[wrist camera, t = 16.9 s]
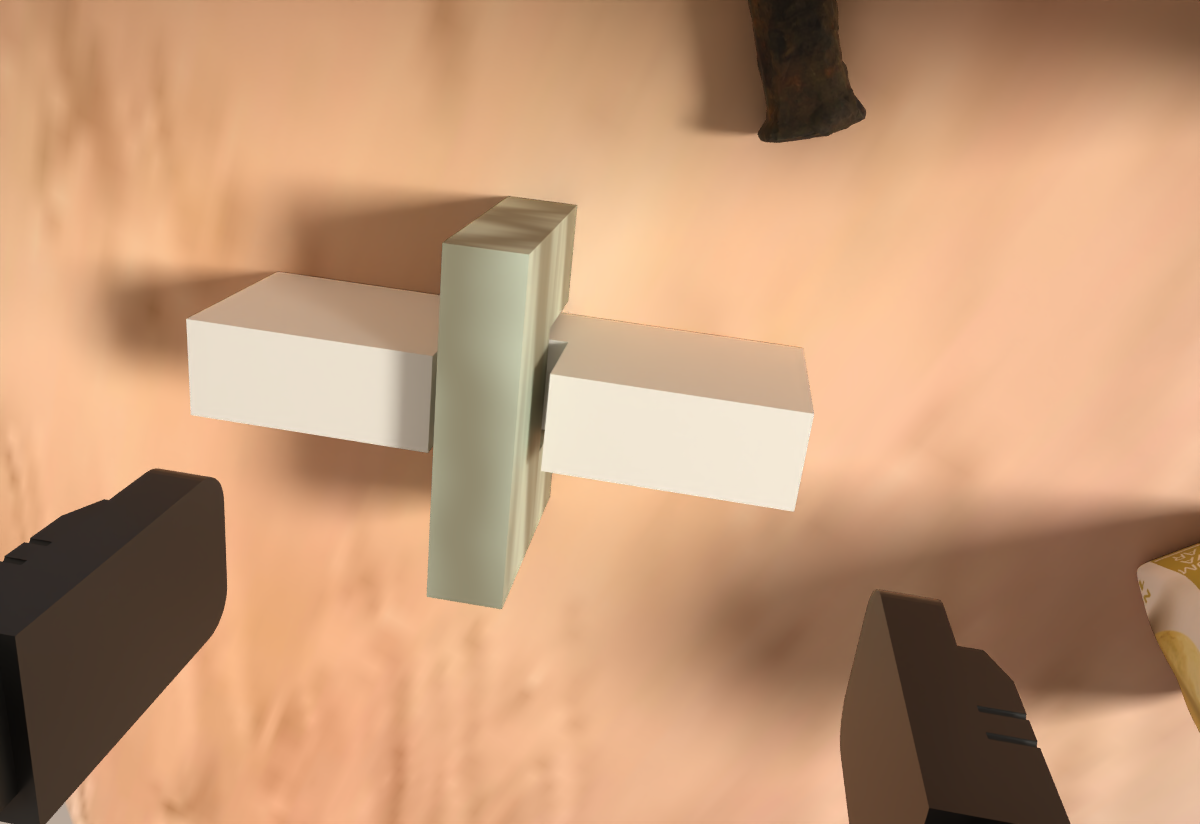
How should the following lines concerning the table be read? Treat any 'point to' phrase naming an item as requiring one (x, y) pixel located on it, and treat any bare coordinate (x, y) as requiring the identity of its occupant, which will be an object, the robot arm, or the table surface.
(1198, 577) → the juice carton
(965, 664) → the robot arm
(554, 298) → the slotted plate
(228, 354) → the slotted beam
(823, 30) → the hand tool
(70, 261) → the table surface
